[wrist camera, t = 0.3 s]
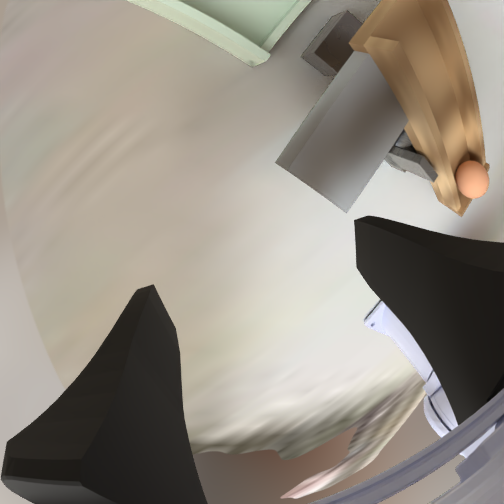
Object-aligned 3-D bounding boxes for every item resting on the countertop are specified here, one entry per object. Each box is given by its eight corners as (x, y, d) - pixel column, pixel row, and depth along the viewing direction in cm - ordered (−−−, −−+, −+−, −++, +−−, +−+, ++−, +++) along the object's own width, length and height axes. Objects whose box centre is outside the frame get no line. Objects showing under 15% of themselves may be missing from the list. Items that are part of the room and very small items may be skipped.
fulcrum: (433, 99, 19) (480, 108, 14) (391, 166, 21) (437, 187, 16) (343, 3, 14) (389, -15, 10) (286, 75, 16) (324, 68, 12)
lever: (466, 154, 21) (489, 167, 19) (400, 256, 24) (422, 274, 22) (399, -22, 8) (447, -17, 6) (266, 157, 11) (310, 186, 9)
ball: (468, 165, 20) (495, 182, 18) (452, 192, 21) (479, 211, 19) (463, 147, 18) (493, 164, 16) (446, 176, 19) (477, 195, 17)
